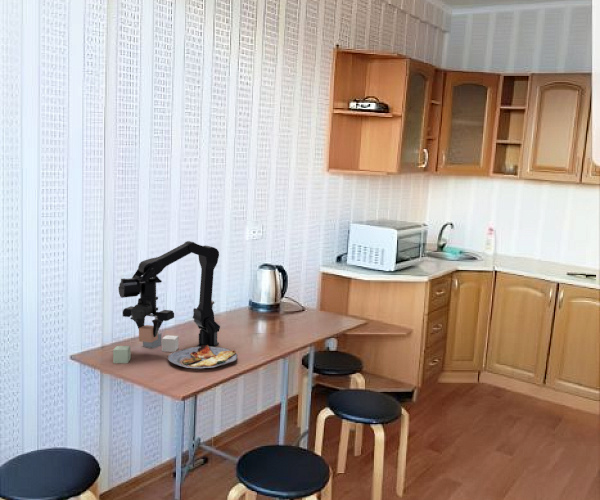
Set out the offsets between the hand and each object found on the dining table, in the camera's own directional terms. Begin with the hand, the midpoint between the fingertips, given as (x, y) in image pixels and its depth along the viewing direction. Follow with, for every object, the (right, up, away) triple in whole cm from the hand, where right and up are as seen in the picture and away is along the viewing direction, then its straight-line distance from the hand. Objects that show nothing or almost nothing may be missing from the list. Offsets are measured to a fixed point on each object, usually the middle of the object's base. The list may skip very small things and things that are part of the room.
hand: (148, 336), depth 231 cm
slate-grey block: (-2, -6, +13) cm, 14 cm away
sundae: (+15, -2, +48) cm, 51 cm away
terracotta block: (0, -2, 0) cm, 2 cm away
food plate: (+21, -9, -4) cm, 23 cm away
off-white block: (+6, -7, +8) cm, 12 cm away
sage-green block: (-8, -8, -7) cm, 13 cm away
